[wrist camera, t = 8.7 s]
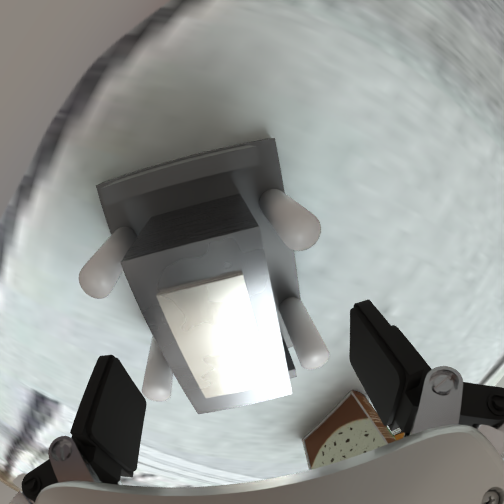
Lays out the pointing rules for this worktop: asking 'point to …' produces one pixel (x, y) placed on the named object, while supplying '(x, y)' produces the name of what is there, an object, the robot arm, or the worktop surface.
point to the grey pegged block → (203, 190)
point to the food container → (346, 432)
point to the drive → (210, 303)
